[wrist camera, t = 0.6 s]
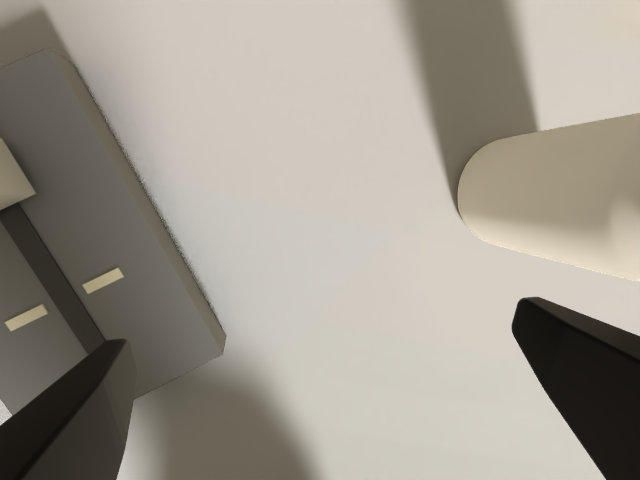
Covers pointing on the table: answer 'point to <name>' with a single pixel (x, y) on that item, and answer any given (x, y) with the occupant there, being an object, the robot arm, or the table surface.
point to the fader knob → (12, 179)
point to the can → (561, 195)
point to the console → (85, 247)
